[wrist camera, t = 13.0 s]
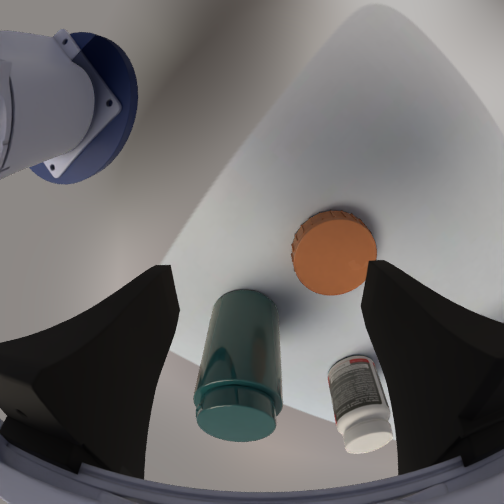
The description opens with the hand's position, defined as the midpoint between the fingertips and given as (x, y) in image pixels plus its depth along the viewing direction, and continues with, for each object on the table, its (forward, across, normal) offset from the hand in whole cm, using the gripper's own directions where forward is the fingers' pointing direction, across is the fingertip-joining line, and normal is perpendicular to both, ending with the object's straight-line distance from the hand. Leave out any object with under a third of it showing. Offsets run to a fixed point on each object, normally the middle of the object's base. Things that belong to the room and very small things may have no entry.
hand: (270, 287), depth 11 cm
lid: (+8, -4, +3) cm, 10 cm away
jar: (+9, +2, +9) cm, 13 cm away
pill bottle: (+10, -8, +16) cm, 20 cm away
